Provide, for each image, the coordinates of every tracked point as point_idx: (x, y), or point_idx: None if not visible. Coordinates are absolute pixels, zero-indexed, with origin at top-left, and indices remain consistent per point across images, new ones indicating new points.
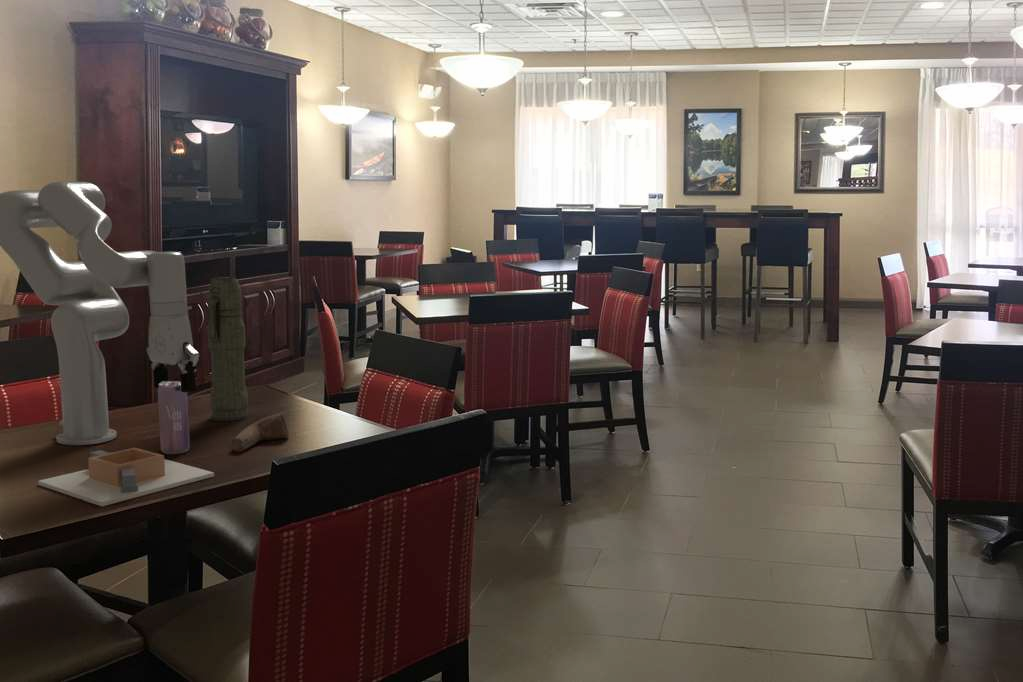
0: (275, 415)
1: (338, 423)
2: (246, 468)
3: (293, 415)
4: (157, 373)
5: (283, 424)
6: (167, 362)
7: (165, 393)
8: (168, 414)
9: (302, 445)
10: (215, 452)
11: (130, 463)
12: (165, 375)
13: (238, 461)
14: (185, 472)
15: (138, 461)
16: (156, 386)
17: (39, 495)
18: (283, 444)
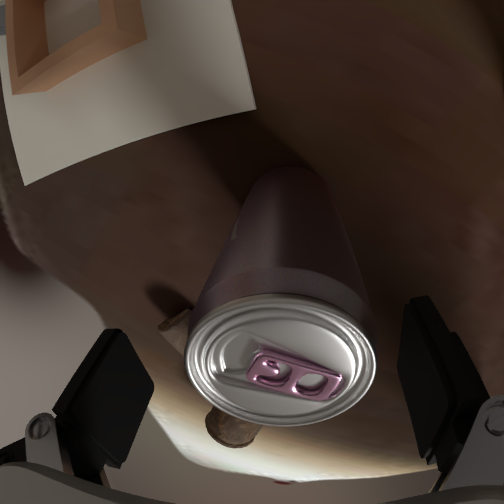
0: (227, 435)
1: (267, 463)
2: (55, 254)
3: (367, 454)
4: (438, 392)
5: (207, 421)
6: (66, 492)
7: (221, 275)
8: (237, 224)
9: (163, 391)
10: (204, 274)
11: (5, 19)
12: (416, 413)
13: (103, 270)
14: (43, 136)
15: (6, 35)
16: (409, 305)
17: None
18: (187, 382)
